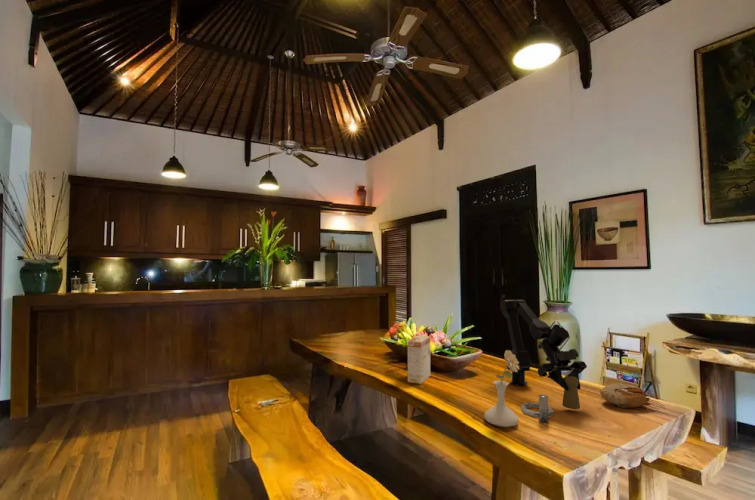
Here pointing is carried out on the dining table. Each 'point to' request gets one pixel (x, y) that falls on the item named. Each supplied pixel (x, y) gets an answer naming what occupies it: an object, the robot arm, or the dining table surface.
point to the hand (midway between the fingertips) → (573, 389)
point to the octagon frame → (543, 409)
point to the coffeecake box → (418, 359)
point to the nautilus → (626, 396)
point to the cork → (571, 393)
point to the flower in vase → (500, 411)
